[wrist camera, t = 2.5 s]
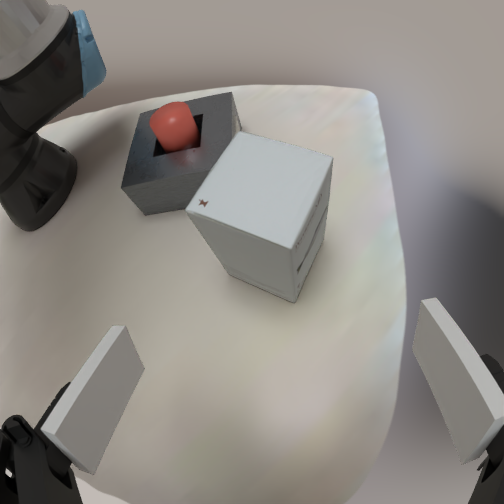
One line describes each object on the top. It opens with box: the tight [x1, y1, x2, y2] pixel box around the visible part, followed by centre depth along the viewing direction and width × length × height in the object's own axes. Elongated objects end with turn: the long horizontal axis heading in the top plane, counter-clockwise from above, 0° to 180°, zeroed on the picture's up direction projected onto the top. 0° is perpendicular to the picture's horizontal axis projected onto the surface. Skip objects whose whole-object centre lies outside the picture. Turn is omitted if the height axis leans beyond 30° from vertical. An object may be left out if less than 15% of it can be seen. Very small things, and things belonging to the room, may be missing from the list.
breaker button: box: [149, 102, 201, 154], centre depth 30 cm, size 4×4×5 cm
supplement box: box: [185, 131, 333, 303], centre depth 24 cm, size 7×7×13 cm
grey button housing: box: [121, 92, 241, 215], centre depth 33 cm, size 12×12×6 cm
